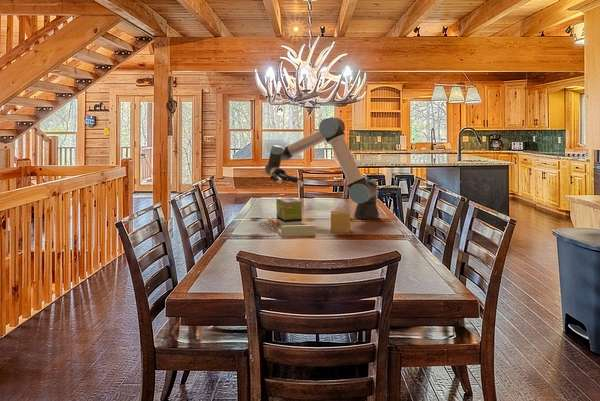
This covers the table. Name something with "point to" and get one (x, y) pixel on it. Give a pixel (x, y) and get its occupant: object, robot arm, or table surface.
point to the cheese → (340, 222)
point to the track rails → (276, 224)
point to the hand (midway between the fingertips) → (291, 183)
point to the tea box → (289, 212)
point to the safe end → (297, 230)
